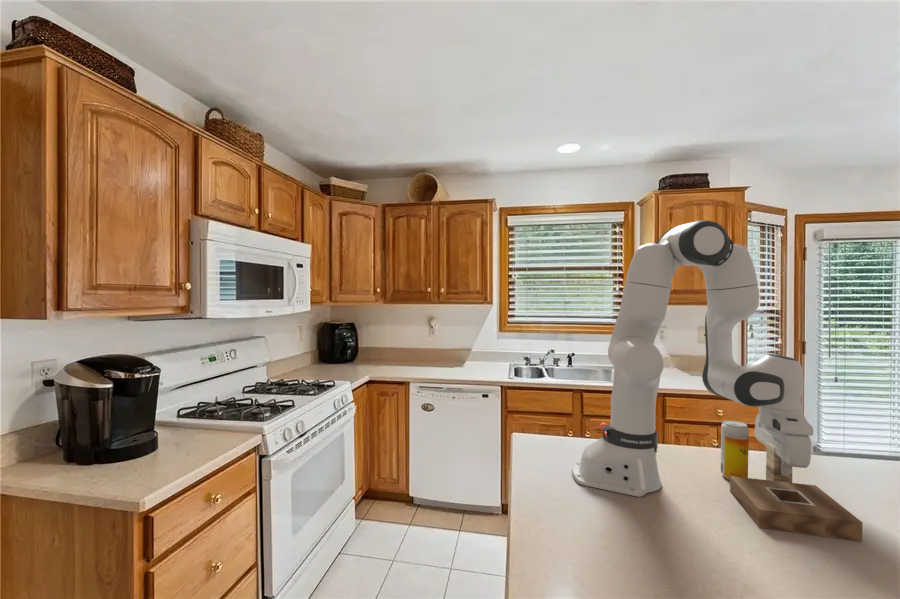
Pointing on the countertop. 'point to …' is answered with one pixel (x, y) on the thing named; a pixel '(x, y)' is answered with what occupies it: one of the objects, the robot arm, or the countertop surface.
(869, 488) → the countertop surface
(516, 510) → the countertop surface
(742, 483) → the walnut board
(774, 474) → the birch peg
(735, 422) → the beer can
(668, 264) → the robot arm
